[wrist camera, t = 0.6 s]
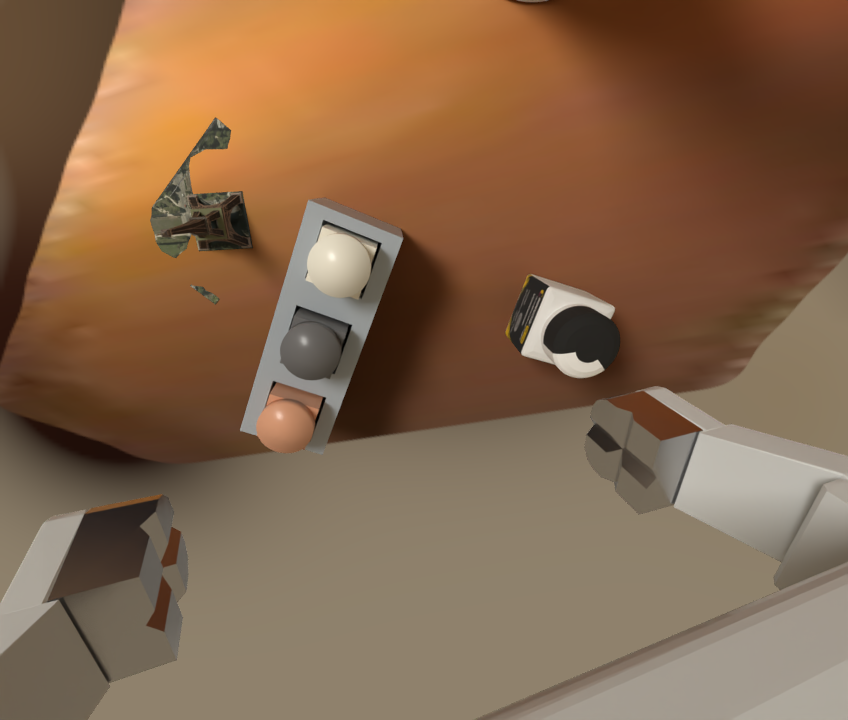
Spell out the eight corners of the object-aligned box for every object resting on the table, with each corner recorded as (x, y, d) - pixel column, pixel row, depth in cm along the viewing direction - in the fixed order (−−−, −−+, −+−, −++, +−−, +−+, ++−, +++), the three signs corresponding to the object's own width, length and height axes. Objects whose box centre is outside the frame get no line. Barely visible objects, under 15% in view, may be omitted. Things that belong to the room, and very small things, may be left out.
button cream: (330, 217, 40) (317, 224, 33) (381, 237, 41) (379, 248, 34) (314, 267, 42) (299, 284, 34) (364, 286, 42) (358, 306, 35)
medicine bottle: (527, 272, 48) (569, 298, 37) (586, 291, 49) (645, 322, 38) (503, 333, 50) (536, 375, 39) (560, 350, 51) (608, 395, 40)
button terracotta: (284, 363, 45) (264, 397, 38) (330, 379, 46) (319, 414, 38) (271, 404, 46) (250, 444, 39) (316, 418, 47) (303, 459, 40)
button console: (324, 197, 44) (308, 199, 35) (400, 228, 45) (403, 238, 37) (264, 390, 50) (239, 430, 42) (333, 411, 52) (322, 454, 44)
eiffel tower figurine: (217, 114, 41) (142, 82, 28) (307, 193, 44) (274, 196, 31) (131, 239, 44) (30, 260, 32) (220, 305, 47) (159, 348, 35)
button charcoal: (306, 294, 42) (289, 316, 35) (354, 312, 43) (347, 336, 36) (292, 339, 44) (273, 369, 37) (339, 355, 45) (329, 387, 38)
